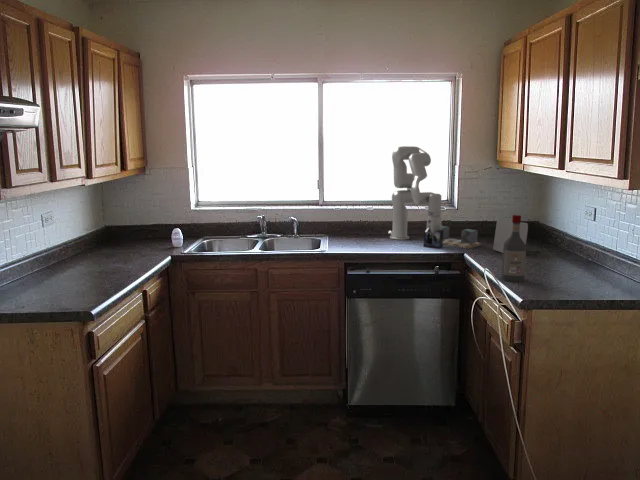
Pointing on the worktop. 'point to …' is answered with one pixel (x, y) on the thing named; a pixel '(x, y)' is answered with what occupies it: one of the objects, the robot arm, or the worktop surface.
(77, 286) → the worktop surface
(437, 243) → the small box
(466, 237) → the rail board
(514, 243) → the liquor
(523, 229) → the electrical switch box
